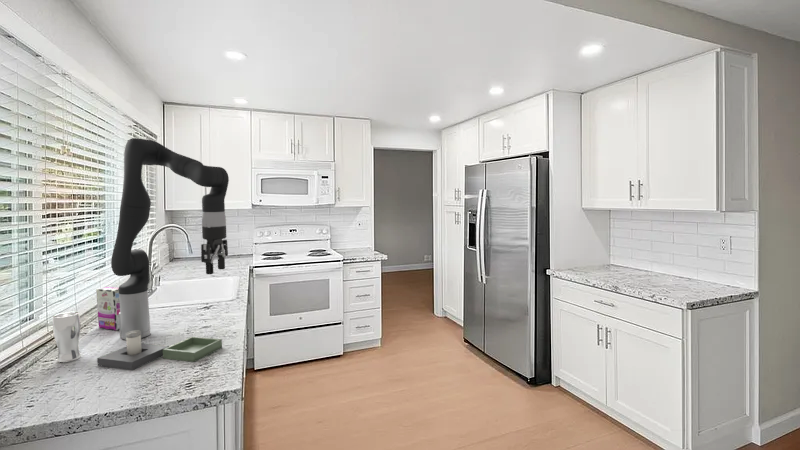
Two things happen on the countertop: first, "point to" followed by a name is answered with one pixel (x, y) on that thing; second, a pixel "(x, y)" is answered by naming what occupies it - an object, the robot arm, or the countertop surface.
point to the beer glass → (67, 336)
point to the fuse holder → (131, 357)
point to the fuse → (133, 342)
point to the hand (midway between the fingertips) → (215, 271)
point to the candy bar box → (108, 308)
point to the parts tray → (192, 349)
